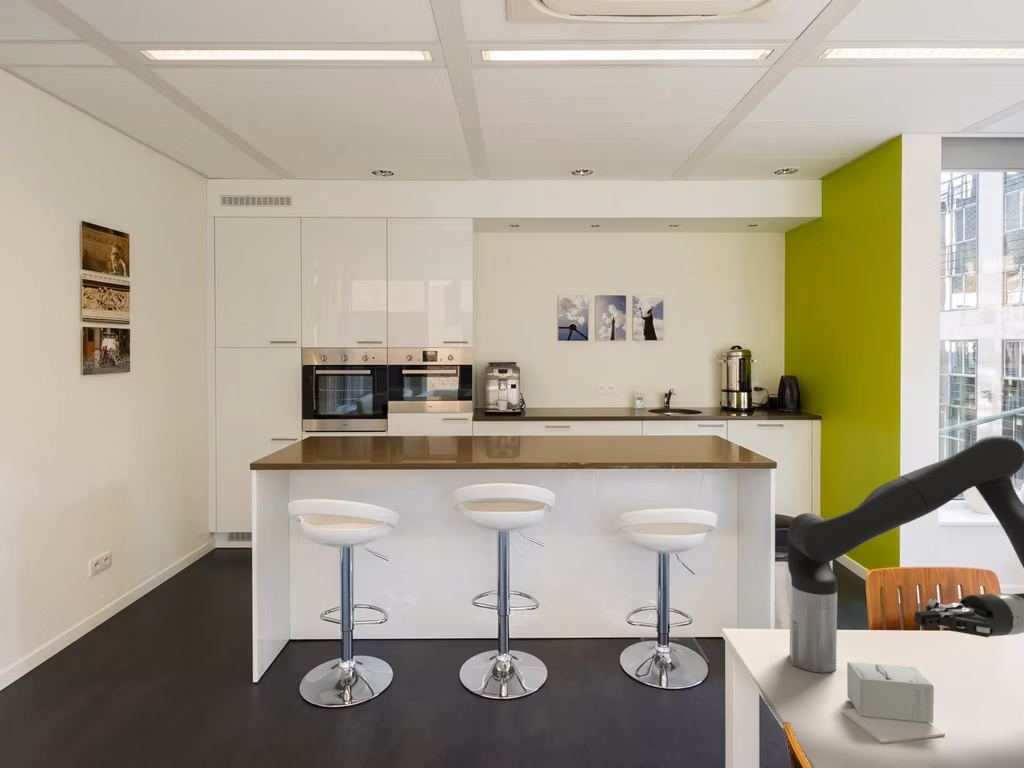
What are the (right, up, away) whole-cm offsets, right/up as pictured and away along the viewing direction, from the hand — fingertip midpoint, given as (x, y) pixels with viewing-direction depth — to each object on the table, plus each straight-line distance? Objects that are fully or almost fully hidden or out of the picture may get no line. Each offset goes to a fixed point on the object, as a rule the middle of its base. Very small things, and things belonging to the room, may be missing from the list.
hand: (917, 619), depth 115 cm
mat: (-5, -19, 0) cm, 20 cm away
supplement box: (+3, -15, +2) cm, 16 cm away
